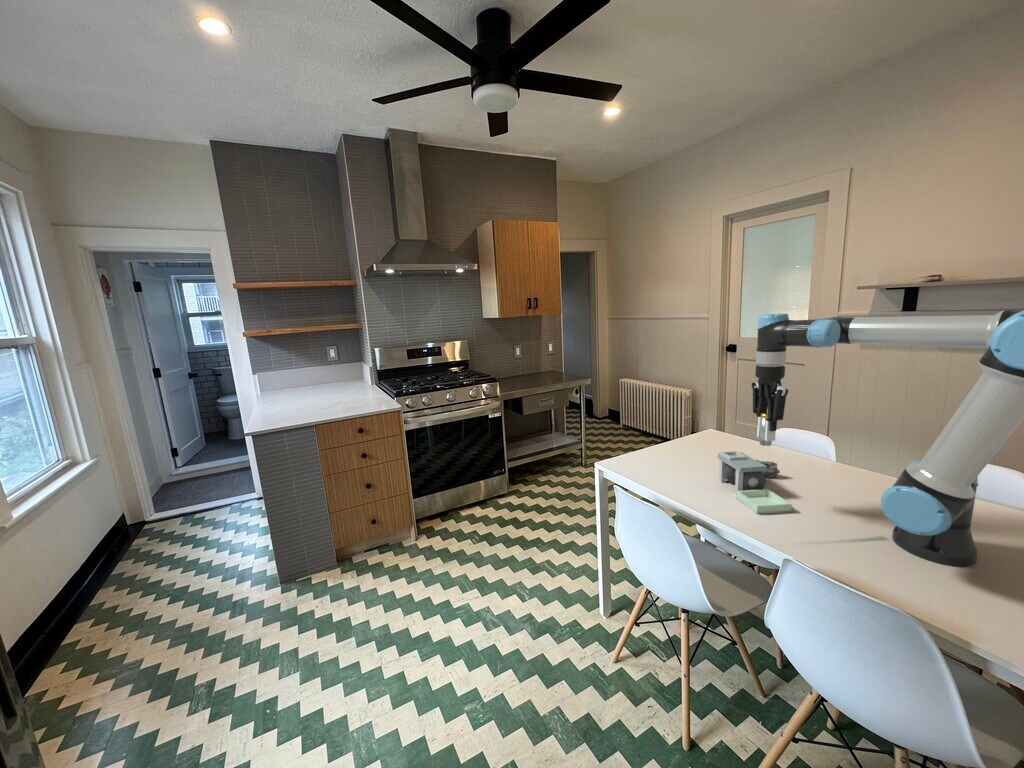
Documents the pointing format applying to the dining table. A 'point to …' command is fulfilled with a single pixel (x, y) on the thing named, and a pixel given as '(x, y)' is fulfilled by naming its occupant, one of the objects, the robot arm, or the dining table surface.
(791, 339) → the robot arm
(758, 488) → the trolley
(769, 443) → the pin
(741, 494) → the tray
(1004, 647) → the dining table surface
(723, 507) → the dining table surface
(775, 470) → the rock
